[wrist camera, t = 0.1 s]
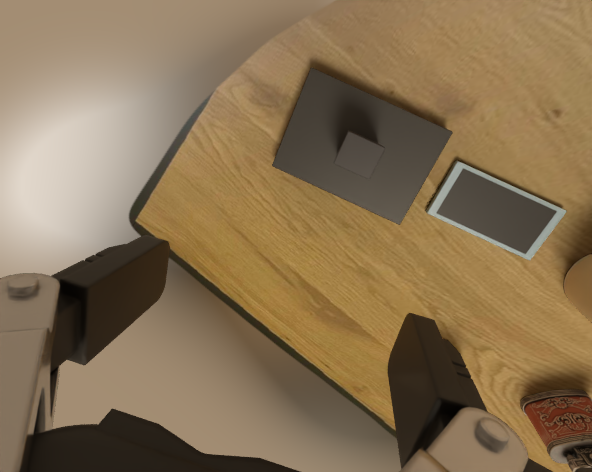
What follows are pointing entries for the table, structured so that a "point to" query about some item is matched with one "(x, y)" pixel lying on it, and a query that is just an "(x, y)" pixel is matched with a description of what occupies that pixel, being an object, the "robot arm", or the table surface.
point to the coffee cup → (580, 286)
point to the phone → (494, 210)
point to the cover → (359, 146)
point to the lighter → (563, 424)
